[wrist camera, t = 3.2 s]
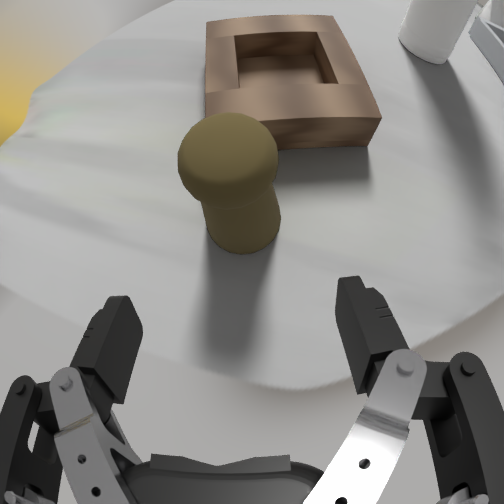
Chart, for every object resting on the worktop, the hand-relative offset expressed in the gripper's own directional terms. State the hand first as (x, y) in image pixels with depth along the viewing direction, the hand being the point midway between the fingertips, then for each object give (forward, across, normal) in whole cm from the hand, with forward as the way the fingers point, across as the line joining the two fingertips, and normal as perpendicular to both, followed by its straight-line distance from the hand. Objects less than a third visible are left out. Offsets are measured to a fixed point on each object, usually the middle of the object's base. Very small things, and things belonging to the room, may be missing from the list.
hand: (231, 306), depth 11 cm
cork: (+14, 0, +3) cm, 14 cm away
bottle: (+31, -27, -14) cm, 43 cm away
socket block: (+23, -5, -7) cm, 25 cm away
